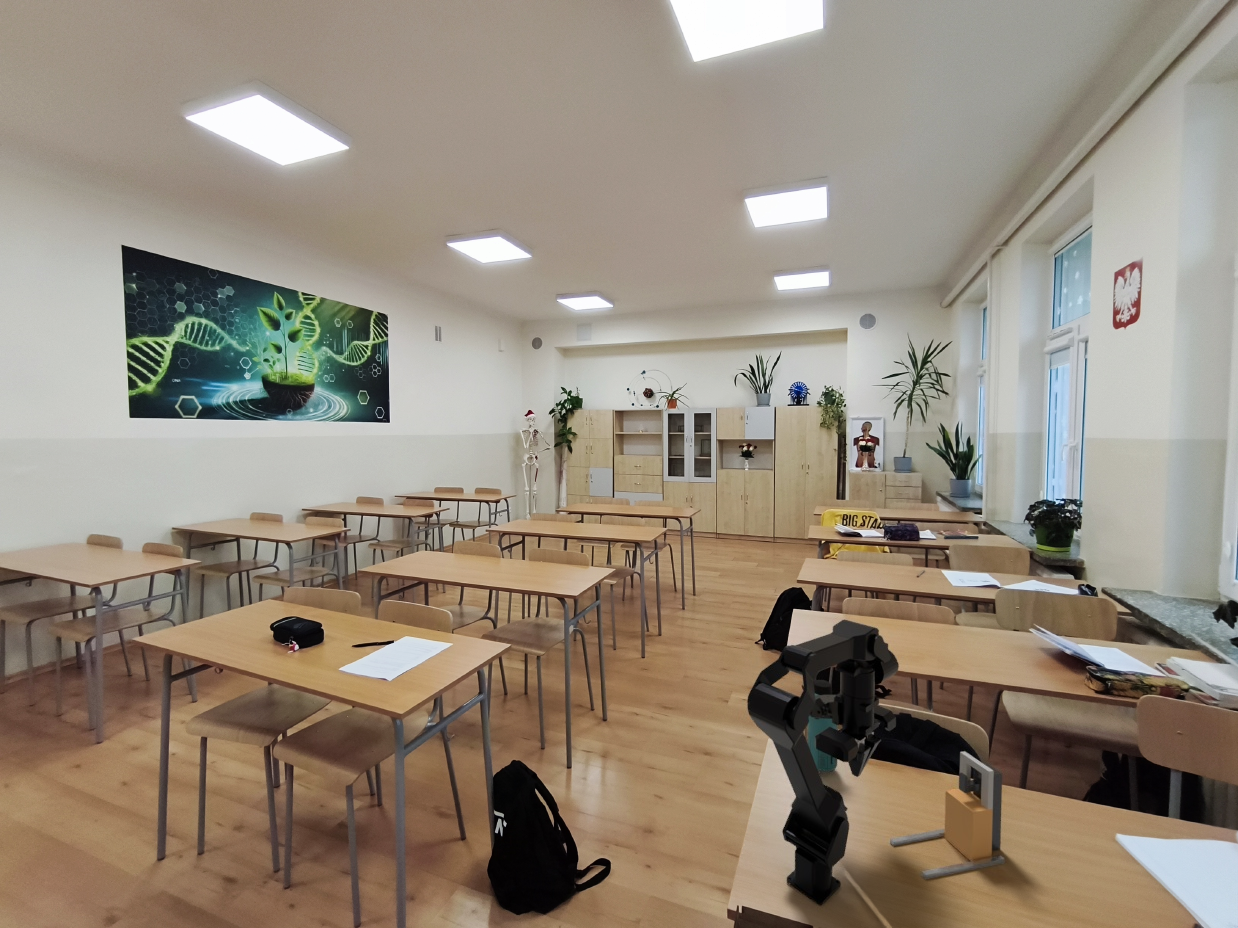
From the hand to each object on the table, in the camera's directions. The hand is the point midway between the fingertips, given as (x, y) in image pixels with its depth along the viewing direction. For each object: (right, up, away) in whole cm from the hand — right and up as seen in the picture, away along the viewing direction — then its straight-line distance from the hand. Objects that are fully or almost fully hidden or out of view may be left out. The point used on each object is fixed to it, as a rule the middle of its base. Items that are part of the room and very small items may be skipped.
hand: (856, 775), depth 99 cm
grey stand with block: (+16, -13, -3) cm, 21 cm away
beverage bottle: (+2, -12, +23) cm, 26 cm away
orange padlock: (+19, -12, -2) cm, 23 cm away
